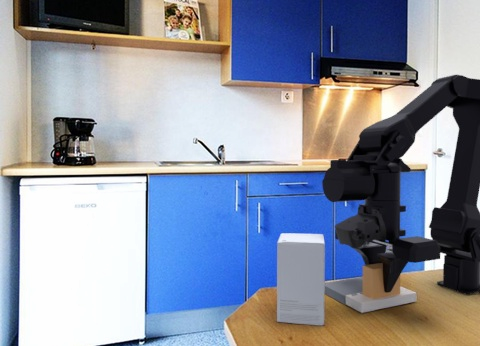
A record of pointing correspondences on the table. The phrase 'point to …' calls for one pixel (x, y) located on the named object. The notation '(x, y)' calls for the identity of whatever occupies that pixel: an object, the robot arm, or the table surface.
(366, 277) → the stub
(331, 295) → the board
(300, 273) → the supplement box
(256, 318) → the table surface
